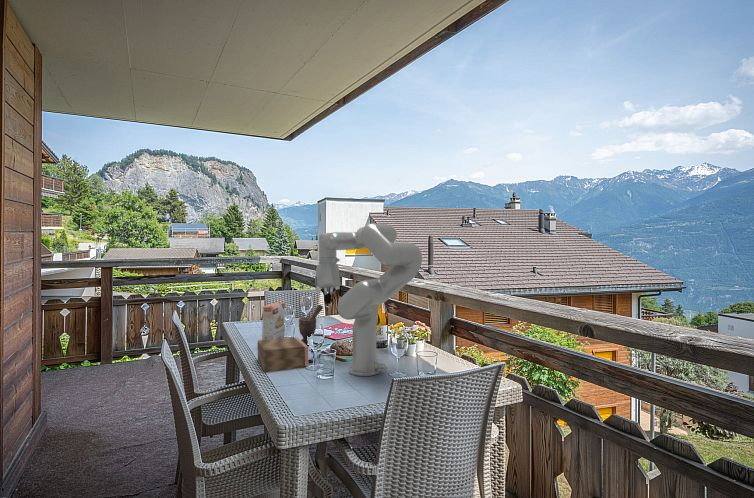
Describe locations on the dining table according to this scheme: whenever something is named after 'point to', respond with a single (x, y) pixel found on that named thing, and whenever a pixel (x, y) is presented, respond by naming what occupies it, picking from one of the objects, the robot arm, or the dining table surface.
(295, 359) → the brown box
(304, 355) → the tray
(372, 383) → the dining table surface
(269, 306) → the cracker box
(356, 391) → the dining table surface
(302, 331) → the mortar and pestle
